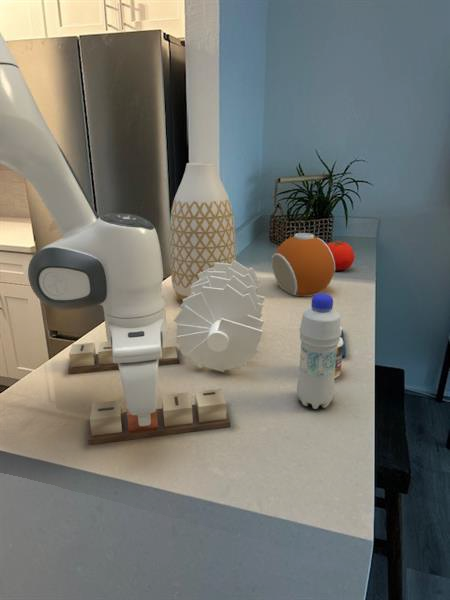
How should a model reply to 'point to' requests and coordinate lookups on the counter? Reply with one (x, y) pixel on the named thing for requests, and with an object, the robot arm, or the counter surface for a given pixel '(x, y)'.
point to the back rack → (106, 358)
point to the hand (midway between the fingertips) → (144, 405)
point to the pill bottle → (338, 357)
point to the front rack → (160, 417)
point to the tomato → (341, 254)
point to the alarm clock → (303, 265)
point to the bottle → (318, 352)
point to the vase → (199, 227)
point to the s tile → (134, 423)
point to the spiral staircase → (221, 318)
